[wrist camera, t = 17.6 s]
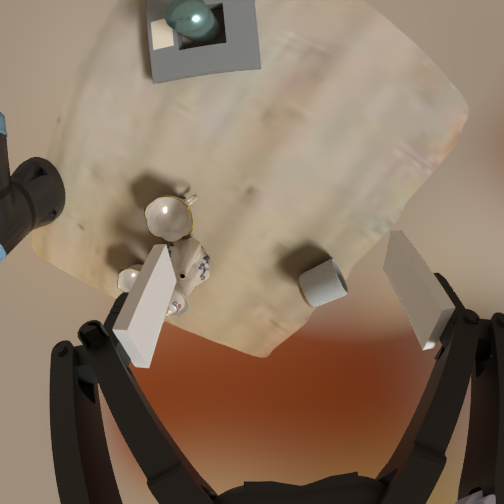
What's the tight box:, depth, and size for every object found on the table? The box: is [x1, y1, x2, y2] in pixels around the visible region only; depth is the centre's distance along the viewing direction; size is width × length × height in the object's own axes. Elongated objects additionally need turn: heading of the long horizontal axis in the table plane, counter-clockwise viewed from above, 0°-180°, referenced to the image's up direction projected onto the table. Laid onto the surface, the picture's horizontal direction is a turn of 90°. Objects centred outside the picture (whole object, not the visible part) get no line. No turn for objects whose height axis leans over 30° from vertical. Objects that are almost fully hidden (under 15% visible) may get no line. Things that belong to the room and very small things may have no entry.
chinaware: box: [117, 194, 210, 322], centre depth 49 cm, size 28×17×17 cm, turn 152°
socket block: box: [145, 0, 261, 84], centre depth 32 cm, size 16×16×3 cm
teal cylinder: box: [165, 0, 220, 43], centre depth 28 cm, size 5×5×12 cm
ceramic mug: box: [298, 258, 348, 307], centre depth 55 cm, size 11×8×8 cm
